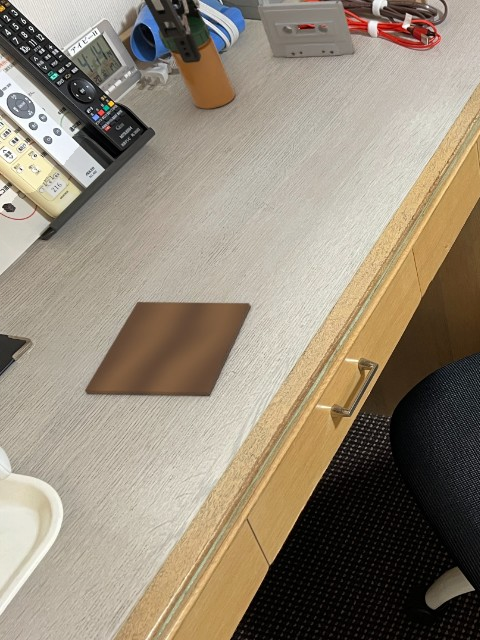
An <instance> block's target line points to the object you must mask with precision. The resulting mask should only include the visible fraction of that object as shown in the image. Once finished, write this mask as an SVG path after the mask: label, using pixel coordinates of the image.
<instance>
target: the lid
mask: <svg viewBox="0 0 480 640" xmlns="http://www.w3.org/2000/svg"><path fill="white" fill-rule="evenodd" d="M187 21H188V24H189V28H190V32H191V34H192V36H193V38H194V41H195V43H196V45H197V47H199V46H201V45H203V44H204V43H206V42H207V41H208V40H209V38H210V36H211V32H210V29H209V27H208V25H207V24H206V21H205V20H204V19H203V20H202V19H201V18H197V17H187ZM172 26H175V25H174V23H173V22H172ZM157 33H158V37H159V39H160V41H161V43H162V45H163V46H164V49H167V50H169V51H170V50H172V51H178V49H177V46H176V44H175V42H174V40H173V38H167V39H165V38H164V37H163V35H162V33H161V31H160V29H159V28H158V32H157Z"/></svg>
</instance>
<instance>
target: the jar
mask: <svg viewBox="0 0 480 640" xmlns="http://www.w3.org/2000/svg"><path fill="white" fill-rule="evenodd" d="M197 48H198V50H199V52H200V55H201V58H200V61H199V62H192V63H185V62H184V61H183V60H182V58H181V56H180V53H179V51H172V50H169V52H170V55H171V57H172V59H173V61H174V63H175V66H176V68H177V70H178V72H179V74H180V77H181V79H182V81H183V83H184V85H185V88H186V89H187V92H188V94H189V96H190V98H191V101H192V103H193V104H194V106H196V107H197V108H199V109H203V110H204V109H206V110H211V109H216V108H220V107H222V106H225V105H226V104H229V103H230V102H231V101H232V100H234V98H235V97H236V91H235V89H234V87H233V83H232V82H231V79H230V77H229V74H228V72H227V70H226V67H225V65H224V62H223V60H222V58H221V55H220V52H219V51H218V47H217V45H216V44H215V41H214V39H213V37H212V36H211V35H210V38H209V40H208V41H207V42H206V43H204V44H203V45H201V46H199V47H197Z"/></svg>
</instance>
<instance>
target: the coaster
mask: <svg viewBox="0 0 480 640" xmlns="http://www.w3.org/2000/svg"><path fill="white" fill-rule="evenodd" d="M250 309H251V304H250V303H249V302H177V301H176V302H175V301H173V302H172V301H171V302H170V301H169V302H168V301H161V302H160V301H137V302H136V304H135V305H134V307H133V309H132V310H131V312H130V314H129V315H128V317H127V318H126V320H125V322H124V324H123V325H122V327H121V329H120V331H119V332H118V333H117V335H116V337H115V338H114V340H113V342H112V344H111V345H110V347H109V349H108V350H107V352H106V354H105V356H104V357H103V359H102V360H101V362H100V364H99V366H98V367H97V369H96V371H95V372H94V374H93V375H92V377H91V379H90V380H89V383H88V384H87V386H86V387H85V389H84V392H85V393H86V394H89V395H91V394H92V395H98V394H99V395H143V396H144V395H150V396H152V395H153V396H207V397H208V396H211V393H212V392H213V389H214V387H215V384H216V383H217V380H218V378H219V376H220V374H221V371H222V370H223V367H224V366H225V363H226V362H227V359H228V357H229V354H230V352H231V349H233V345H234V343H235V341H236V339H237V337H238V335H239V333H240V330H241V328H242V326H243V324H244V322H245V319H246V317H247V316H248V313H249V311H250Z"/></svg>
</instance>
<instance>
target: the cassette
mask: <svg viewBox="0 0 480 640" xmlns="http://www.w3.org/2000/svg"><path fill="white" fill-rule="evenodd" d="M257 11H258V14H259V18H260V20H261V23H262V26H263V30H264V32H265V35H266V38H267V42H268V44H269V47H270V49H271V53H272V56H273V57H276V58H282V57H283V58H307V57H329V56H342V55H352V54H353V53H354V52H355V47H354V43H353V39H352V34H351V31H350V27H349V24H348V19H347V16H346V15H347V14H346V12H345V7H344V5H343V2H342V1H341V0H326V1H325V0H321V1H301V2H300V1H298V2H277V3H276V2H275V3H274V2H273V3H260V4H258V6H257ZM301 25H305V26H306V25H314V28H307V29H305V28H303V29H299V26H301Z"/></svg>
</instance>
